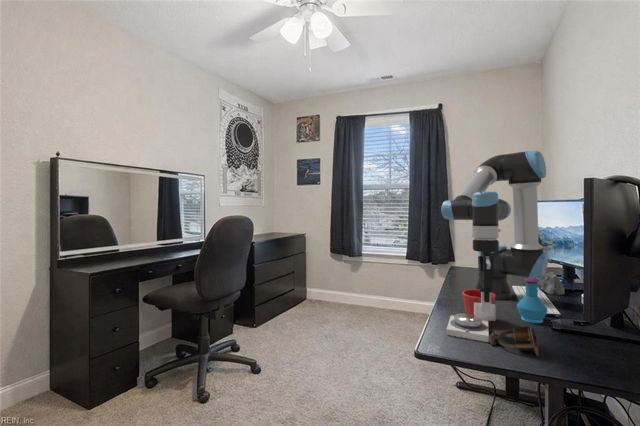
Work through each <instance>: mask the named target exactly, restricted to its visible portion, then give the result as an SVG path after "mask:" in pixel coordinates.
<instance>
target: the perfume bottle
mask: <svg viewBox="0 0 640 426" xmlns="http://www.w3.org/2000/svg"><path fill="white" fill-rule="evenodd" d="M539 280H540V279H538V278H528V277H524V279H523V281H524V283H525V295H524V296H523V297H522V298H521V300H519V301H518V302H517V303H516V308H517V311H518V313H519V315H520V316H521V317H520V318H521V320H522V321H524V322H528V323H532V324H542V323H544V319H545V318H546V316H547V312H548V308H547V306H546V305H545V304H544V303H543V301H542V300H541V299H540V298H539V296H538V295H539V294H538V289H539V288H538V283H537V282H539Z"/></svg>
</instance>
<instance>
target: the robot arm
mask: <svg viewBox="0 0 640 426" xmlns="http://www.w3.org/2000/svg"><path fill="white" fill-rule="evenodd" d="M546 166H547V165H546V161H545V158H544V155H543V154H542V152H540V151H539V150H529V151H528V150H526V151H520V152H519V151H518V152H513V153H512V152H511V153H506V154H498V155H495V156H492V157H490V158H488V159H487V160H484V162H483V161H482V162H481V164H480V165H478V166H477V167H476V168H475V170H474V171H473V175H472V176H471V178H470V179H469V181H467V183H466V184H465V185H464V187H463V188H462V189H461V191H459V192H458V194H457V195H456V196H455V198H454V199H453V200H451V199H448V200H444V201H443V202H442V205H441V215H442V218H444V219H445V220H450V221H451V220H452V221H472V227H471V230H472V231H471V232H472V237H471V238H473V240H472V250H473V251H474V252H478V253H477V265H478V266H477V267H478V269H477V272H478V275H477V277H478V278H477V279H476V284H475V285H474V289H473V290H480V292H481V310H482V312H491V293H493V294H495V296H496V297H495V300H509V299H512V290H511V288H510V283H509V282H508V275H509V276H515V277H522V278H535V279H537V280H540V279H541V278H542V277H543V276H544V275H545V274H546V271H547V268H548V263H549V253H548V252H547V251H544V247H543V246H542V245H541V244H540V243H539V216H538V215H539V214H538V186H539V185H540V184H541V183H542V179H545V178H546V177H547V167H546ZM502 181H503V182H504V181H507V182H508V185H509V186H510V187H511V188H512V202H513V203H512V204H513V207H512V208H511V205H510V204H509V203H508V202H507V201H506V200H503V199H501V198H499V193H498V192H497V191H487V189H488V188H489V187H490V186H492V185H493V184H494V183H496V182H502ZM512 209H513V228H514V229H513V232H514V233H513V237H514V238H513V239H514V242H513V243H512V244H511V245H510V248H508V247H507V245H504V244H500V242H499V240H498V239H499V235H500V232H501V231H502V230H501V229H500V228H499V222H500V221H503V220H505V219H507V218H508V217H509V216H510V215H511V212H512Z"/></svg>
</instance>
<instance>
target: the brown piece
mask: <svg viewBox="0 0 640 426" xmlns="http://www.w3.org/2000/svg"><path fill="white" fill-rule="evenodd" d="M509 334H513V337H514V340H515V341H514V342H515V343H510V344H509V343H505V342H502V341H501V339H502V337H503V336H506V335H509ZM536 335H537V334H536V331H535V328H534V327H532V326H530V325H529V326H514V327H513V329H509V330H505V331H503V332H500V333H499V334H498V335H497V333H495V332H492V333H490V334H489V342H488V343H490V345H492V346H496V344H499V345H500V346H502V347H504V348H510V349H518V350H519V351H534V353H535V355H536V356H539V353H540V352H539V343H538V339H537V336H536Z"/></svg>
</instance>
